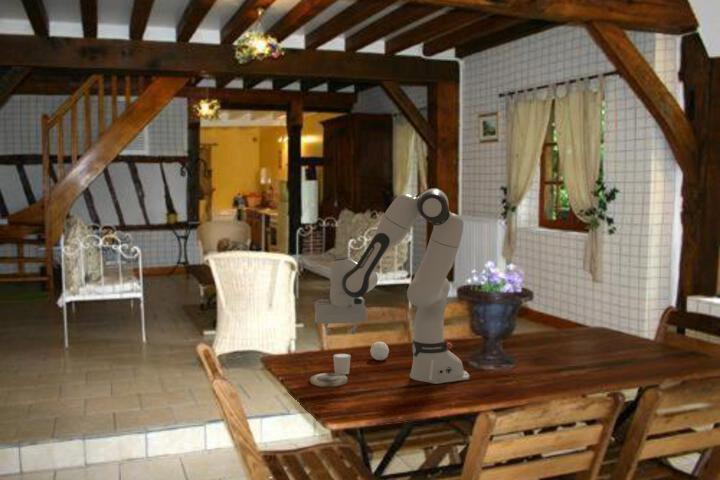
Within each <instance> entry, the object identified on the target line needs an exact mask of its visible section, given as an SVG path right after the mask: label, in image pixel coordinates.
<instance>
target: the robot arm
mask: <svg viewBox="0 0 720 480" xmlns="http://www.w3.org/2000/svg"><path fill="white" fill-rule="evenodd" d="M449 207H450V205H449V198H448V195H447V193H446V192H445V191H444V190H442V189H441V188H438V187H430V188H427V189H425V190H423V191H422V192H420V193H418V194H417V195H416V196H413V195H412V194H409V193H401V194H398V195H397V196H396V197H395V198H394V200H393V201H392V202H391V204H390V205H389V206H388V208H387V209H386V211H385V213H384V214H383V216H382V218H381V220H380V222H379V224H378V226H377V228H376V230H375V232H374V235H373V237H372V239H371V240H370V243H369V245H368V246H367V248H366V249H365V251H364V252H363V254H362V255H361V258H360V259H359V260H358V262H357V261H355V260H354V259H353V258H352V257H350V256H346V257H345V256H343V257H339V258H335V259H334V260H332V262H331V264H330V277H329V281H330V282H329V283H330V289H329V299H318V300H316V301H315V302H314V311H315V313H314V322H315V323H317V325H320V324H321V325H323V327H324V328H325V330H326V335H327V336H330V335H332V330H331V329H329V328H328V326H329V324H353V327H352V328H350V335H355V334H356V329H357V328H358V325H359V323H360V324H361V323H362V324H363V323H366V322H367V320H368V311H367V307H366V305H365V299H364V298H363V296H364V295H366V294H367V293H369V292H370V291H371V290H373V289H374V288H375V287H376V286H377V284H378V279H379V278H378V277H379V276H378V275H377V272H376V270H375V269H376V268H377V266H378V264H379V263H380V261H381V260H382V258H383V257H384V256H385V254H386V253H388V252H389V251H390V250H391V249H393V248H394V247H396V246H397V245H399V244H400V243H401V242H402V241H403V240H404V239H405V238H406V236H407V235H408V233H409V231H410V230H411V228H412V226H413V224H414V223H415V221H417V219H418V218H420V217H422V218H423V219H424V220H426V221H427V222H429V223H430V224H432V226H433V228H432V232H431V235H430V238H429V241H428V244H427V248H426V250H425V254H424V256H423V258H422V260H421V263H420V265H419V267H418V268H417V270H416V272H415V275H414V276H413V279H412V281H411V283H410V284H409V286H408V288H407V291H406V296H407V300H408V301H409V302H410V304H411V305H413V306H414V307H417V310H416V314H415V317H414V320H413V323H414V324H413V326H414V329H413V330H414V331H413V334H414V335H413V339H412V355H413V356H412V357H413V358H412V364H411V365H412V366H411V370H410V373H409V378H410V379H412V380H413V381H418V382H425V383H430V384H434V385H435V384H443V383H445V384H446V383H451V382H458V381H467V380H469V379H470V374H469V373H468V371H466V370H464V366H463V362H462V360H461V359H460V358H459V357H458V356H457V355H456V354H454V353H453V352H451V351H450V350H449V349H452V348H453V344H452V343H451V342H448V341H446V340H445V339H444V322H445V321H444V320H445V313H446V308H447V300H448V295H449V292H450V290H451V289H450V288H451V286H450V285H451V284H450V282H449V279H448V278H447V277H448V274H449V273H450V271H451V270H452V268H453V265H454V262H455V260H456V256H457V253H458V250H459V248H460V244H461V240H462V237H463V231H464V220H463V219H462V217H461V216H460V215H458V214H456V213H454V212H451V211H450V208H449Z"/></svg>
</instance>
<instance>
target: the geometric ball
mask: <svg viewBox="0 0 720 480" xmlns="http://www.w3.org/2000/svg"><path fill="white" fill-rule="evenodd" d="M369 351H370V354H371V357H372V358H373V359H375V360H376V361H384V360H385V359H386V358H388V355H389V352H390V349H389V346H388V345H387V344H386V343H385V342H383V341H376V342H375V343H372V344H371V346H370V350H369Z"/></svg>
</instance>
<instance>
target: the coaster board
mask: <svg viewBox="0 0 720 480" xmlns="http://www.w3.org/2000/svg"><path fill="white" fill-rule="evenodd" d="M309 383H310V384H311V385H313V386H316V387H320V388H321V387H323V388H335V387H341V386H343V385H346V384H347V383H348V377H347V375H342V374H337V373H335V372H324V373H317V374H314V375H311V377H309Z"/></svg>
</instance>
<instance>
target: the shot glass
mask: <svg viewBox="0 0 720 480" xmlns="http://www.w3.org/2000/svg"><path fill="white" fill-rule="evenodd" d="M332 359H333V365H334V366H333V367H334V368H333V369H334V373H337V374H342V375H345V376H347V375H349V374H350V366H351V354H349V353H335V354H333V356H332ZM346 374H347V375H346Z"/></svg>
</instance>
